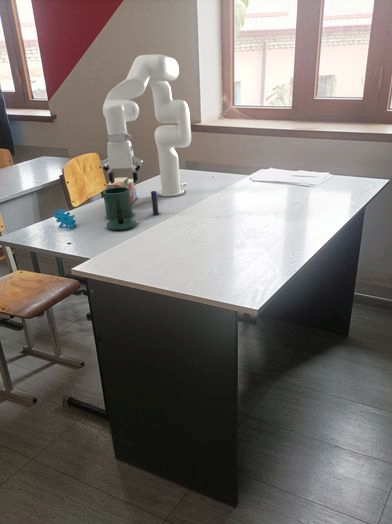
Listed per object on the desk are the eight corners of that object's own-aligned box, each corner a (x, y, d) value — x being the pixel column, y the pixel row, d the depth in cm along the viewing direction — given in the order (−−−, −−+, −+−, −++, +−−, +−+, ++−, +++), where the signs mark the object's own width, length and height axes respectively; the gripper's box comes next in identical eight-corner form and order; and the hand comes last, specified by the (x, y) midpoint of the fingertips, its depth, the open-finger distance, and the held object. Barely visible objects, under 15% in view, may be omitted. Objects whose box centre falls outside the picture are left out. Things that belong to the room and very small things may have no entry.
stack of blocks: (125, 198, 253) (121, 172, 246) (137, 198, 252) (133, 172, 245) (110, 211, 235) (106, 184, 229) (123, 211, 234) (119, 184, 228)
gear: (65, 228, 212) (50, 209, 212) (58, 237, 215) (44, 218, 216) (82, 224, 220) (69, 206, 221) (76, 232, 224) (63, 214, 224)
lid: (124, 219, 223) (122, 205, 219) (142, 225, 215) (140, 210, 211) (100, 227, 216) (98, 212, 212) (118, 233, 208) (116, 217, 204)
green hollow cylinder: (122, 211, 234) (119, 185, 228) (138, 215, 227) (134, 189, 221) (101, 217, 228) (97, 191, 222) (117, 222, 220) (113, 195, 214)
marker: (156, 212, 229) (154, 190, 223) (159, 213, 227) (157, 191, 222) (152, 214, 227) (149, 191, 222) (155, 215, 226) (153, 192, 220)
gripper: (141, 135, 202) (146, 179, 211) (99, 137, 204) (106, 180, 213) (137, 139, 195) (142, 184, 204) (94, 141, 198) (101, 185, 207)
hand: (124, 182), depth 209 cm, fingers open, 9 cm apart
